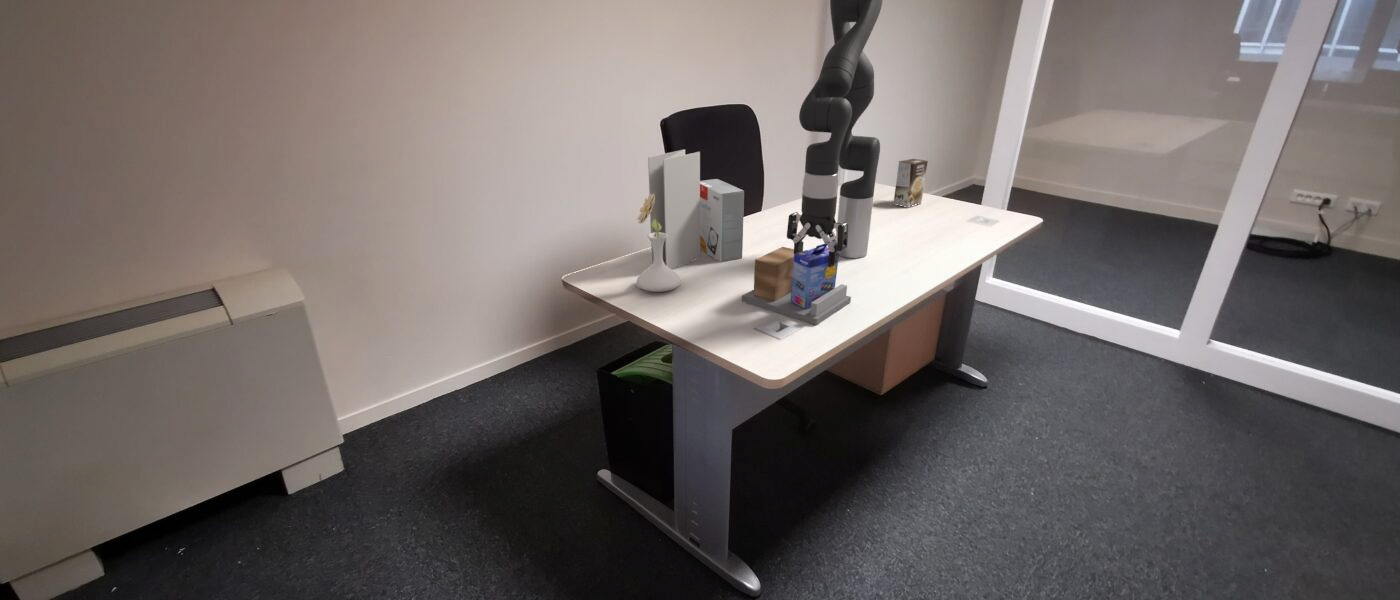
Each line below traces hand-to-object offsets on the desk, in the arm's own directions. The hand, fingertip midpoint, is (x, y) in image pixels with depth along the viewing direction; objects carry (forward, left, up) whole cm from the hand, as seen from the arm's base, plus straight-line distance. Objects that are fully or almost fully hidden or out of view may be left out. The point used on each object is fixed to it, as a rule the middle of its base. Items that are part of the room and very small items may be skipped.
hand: (814, 261), depth 143 cm
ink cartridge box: (0, 0, -10) cm, 10 cm away
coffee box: (-102, -19, -11) cm, 104 cm away
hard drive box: (-16, -40, -11) cm, 45 cm away
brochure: (-2, -44, -11) cm, 46 cm away
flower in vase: (+15, -35, -11) cm, 40 cm away
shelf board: (0, -4, -11) cm, 12 cm away
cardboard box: (0, -9, -10) cm, 13 cm away
